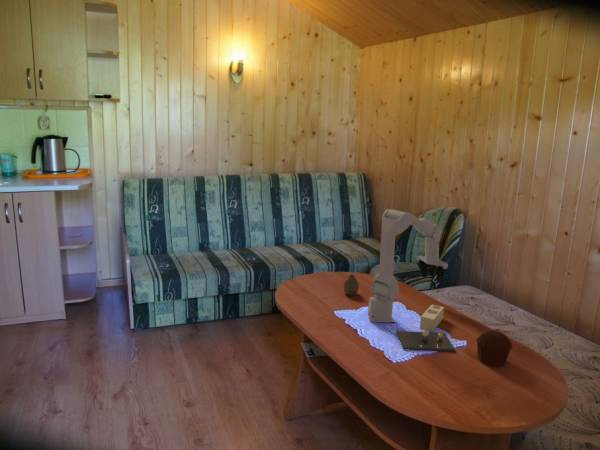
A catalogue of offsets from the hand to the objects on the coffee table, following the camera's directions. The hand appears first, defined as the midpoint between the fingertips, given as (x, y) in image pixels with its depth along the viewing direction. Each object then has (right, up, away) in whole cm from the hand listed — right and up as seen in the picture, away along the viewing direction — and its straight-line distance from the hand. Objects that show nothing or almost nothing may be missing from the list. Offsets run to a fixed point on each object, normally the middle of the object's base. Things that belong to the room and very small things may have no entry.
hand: (431, 279), depth 218 cm
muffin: (+7, -22, -49) cm, 54 cm away
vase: (-35, -8, +8) cm, 36 cm away
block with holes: (-6, -15, -21) cm, 26 cm away
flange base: (-13, -19, -37) cm, 44 cm away
